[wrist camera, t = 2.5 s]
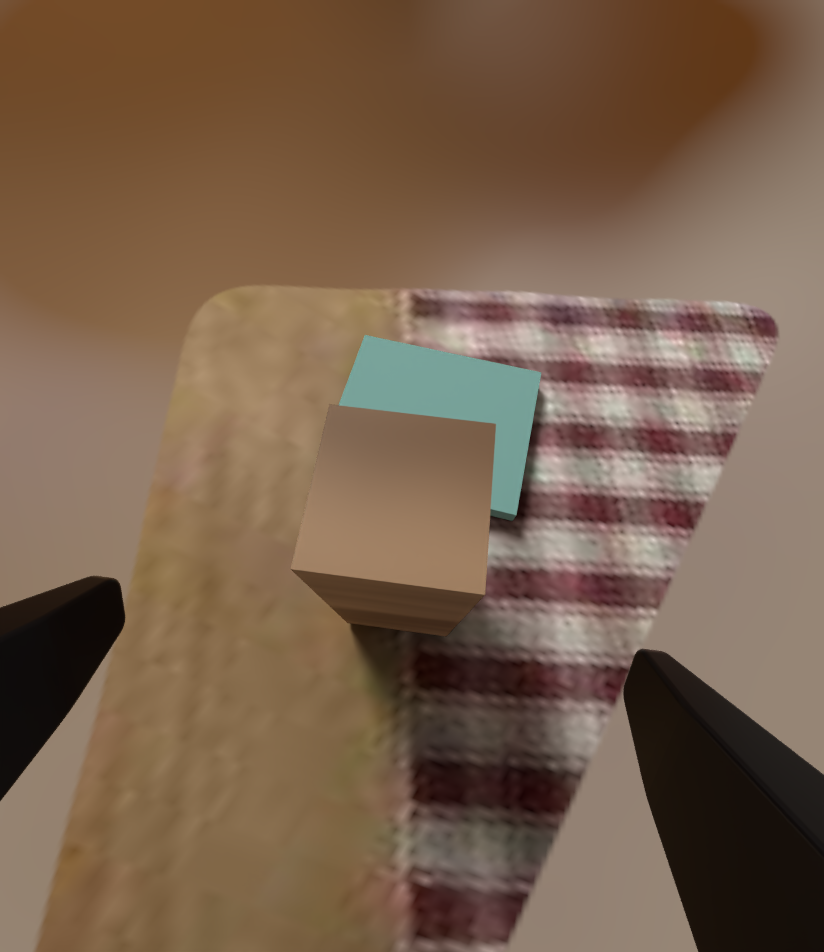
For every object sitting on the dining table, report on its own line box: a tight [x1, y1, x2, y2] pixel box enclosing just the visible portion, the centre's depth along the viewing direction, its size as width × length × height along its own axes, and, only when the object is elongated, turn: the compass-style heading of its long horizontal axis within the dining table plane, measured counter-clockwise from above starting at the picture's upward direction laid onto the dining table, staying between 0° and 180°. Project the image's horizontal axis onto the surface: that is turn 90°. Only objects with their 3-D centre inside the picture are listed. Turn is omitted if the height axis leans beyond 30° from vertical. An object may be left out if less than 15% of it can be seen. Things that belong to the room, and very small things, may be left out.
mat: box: [339, 335, 541, 521], centre depth 22 cm, size 8×9×1 cm
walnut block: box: [291, 404, 496, 636], centre depth 15 cm, size 4×4×10 cm
